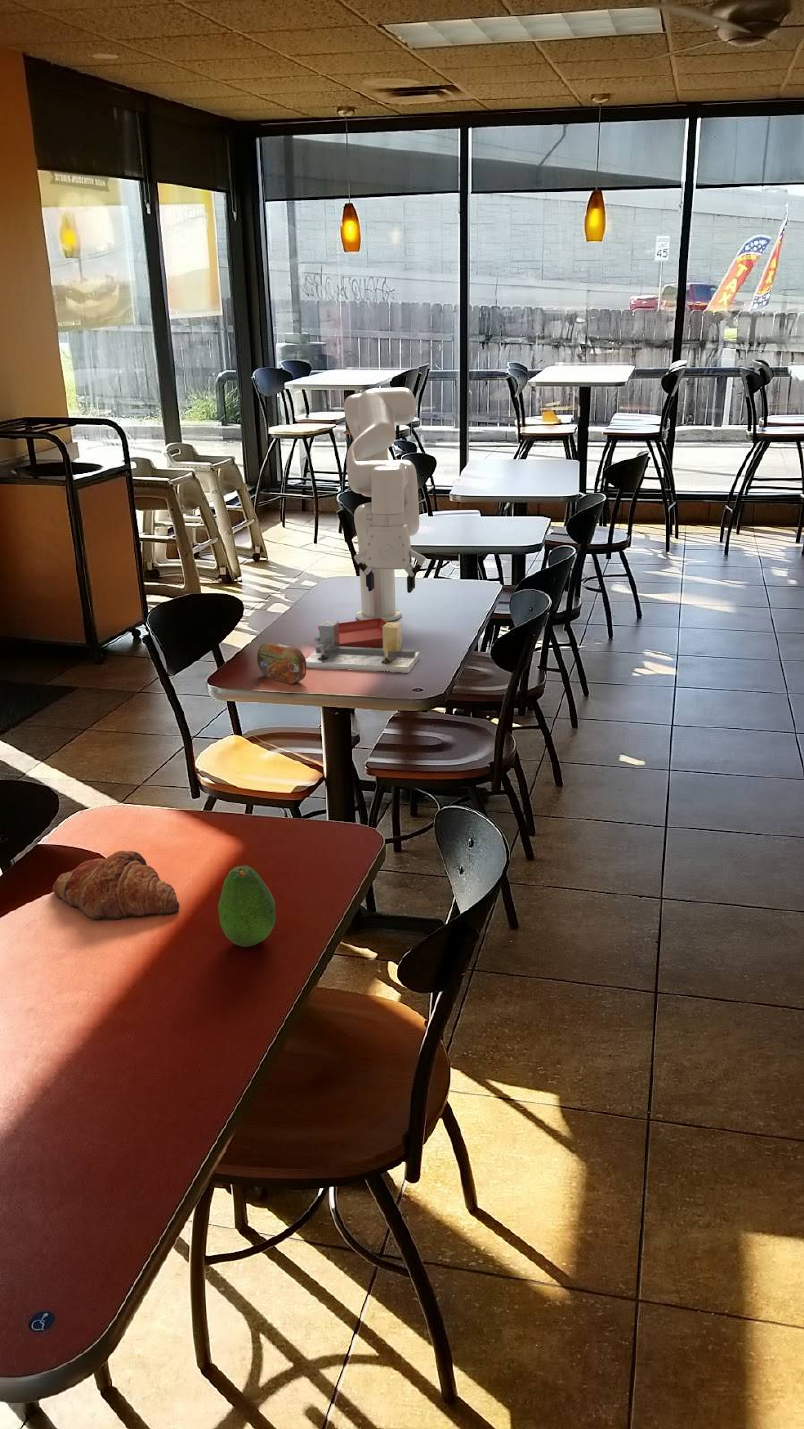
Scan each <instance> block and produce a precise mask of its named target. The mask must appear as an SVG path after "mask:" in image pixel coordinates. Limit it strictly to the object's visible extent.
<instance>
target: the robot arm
mask: <svg viewBox="0 0 804 1429" xmlns="http://www.w3.org/2000/svg"><path fill="white" fill-rule="evenodd" d="M343 404H344V406H343V409H344V410H343V411H344V416H345V421H346V424H347V426H348V429H349V431H350V434H351V437H352V439H353V441H352V443H351V444H350V445H349V448H348V450H347V452H346V463H345V464H346V473H347V482H348V485H349V486H348V487H349V488H350V489H351V491H352V492H354V493H356V494H361V495H362V496H363V497H369V498H371V502H366V503H363V504H360V505H358V506H357V507H356V509H355V510H354V515H353V518H354V519H353V521H354V527H355V532H356V537H357V545H358V553H357V554H354V556H353V559H354V561H355V562H356V564H357V567H358V569H359V582H360V583H359V584H360V605H361V606H360V607H361V609H360V610H357V611H356V613H355V618H356V619H357V620H358V621H359V620H367V619H374V618H382V619H384V620H385V621H386V622H392V621H395V620H398V619H400V618H401V617H402V611H401V610H400V609H398V608H397V607H396V602H397V601H396V576H395V572H396V571H395V570H404V571H405V572H406V574H407V576H406V590H407V591H406V592H407V593H408V594H411V593H413V590H414V589H416V574H417V573H418V572H420V570H421V569H422V567H423V566H424V564H425V562H426V559H427V558H426V556H425V555H423V554H422V553H419V552H417V551H415V550H414V549H412V546H411V545H412V544H411V538H410V537H412V536H415V535H416V534H417V533H418V532H419V529H420V508H419V507H420V506H419V505H420V504H419V486H418V475H417V470H416V466H415V464H414V463H413V462H412V461H411V460H408V459H389V452H388V449H389V448H391V446H392V445H393V444H394V443H395V440H396V436H397V434H396V426H405V425H408V424H411V423H412V422H413V421H414V419H415V418H416V413H417V402H416V399H415V395H414V393H413V391H412V390H411V389H410V388H408V387H380V388H379V387H378V388H377V387H375V388H370V389H367V390H365V391H363V392H360V393H354V394H351V395H349V396H347V397H346V398H345V401H344V403H343ZM412 559H415V560H417V564H416V565H415V566H413V564H412Z"/></svg>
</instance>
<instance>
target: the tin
mask: <svg viewBox="0 0 804 1429" xmlns="http://www.w3.org/2000/svg"><path fill="white" fill-rule="evenodd" d="M306 659H307V658H306V657H305V655H304V654H303V652H302V650H300V649H299V648H296V647H294V646H289V645H285V644H281V643H277V642H269V643H268V642H267V643H262V645H261V644H260V646H259V648H258V651H257V654H256V661H257V665H258V669H259V671H260V672H261V673H262V675H263V676H264V677H265V678H267V679H271V680H274V681H278V682H282V683H284V684H288V685H293V684H295V683H298V682H299V683H300V682H302V681H303V680H304V679H305V677H306V674H307V668H306Z"/></svg>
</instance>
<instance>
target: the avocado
mask: <svg viewBox="0 0 804 1429" xmlns="http://www.w3.org/2000/svg"><path fill="white" fill-rule="evenodd" d="M217 909H218V918H219V925H220V927H221V929H222V931H223V933H224V935H225V937H227V939H228V941H230V942H231V943H232V944H234V945H237V946H240V947H242V948H243V947H244V948H247V947H252V946H256V945H257V944H259V943H261V942H263V941H265V940H266V939H267V938H268V937H269V936H270V934H271V933H272V931H273V929H274V926H275V923H276V920H277V913H276V902H275V899H274V896H273V895H272V893H271V891H270V888H269V887H268V885H266V883H265V882H264V881H263V879H262V877H261V876H260V875H259V873H257V871H255V869H253V868H252V867H251V866H248V865H247V864H246V865H241V866H234V868H232V869H231V870H230V871H229V872H228V874H227V875H226V876H225V879H224V883H223V885H222V888H221V893H220V896H219V901H218V904H217Z"/></svg>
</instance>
